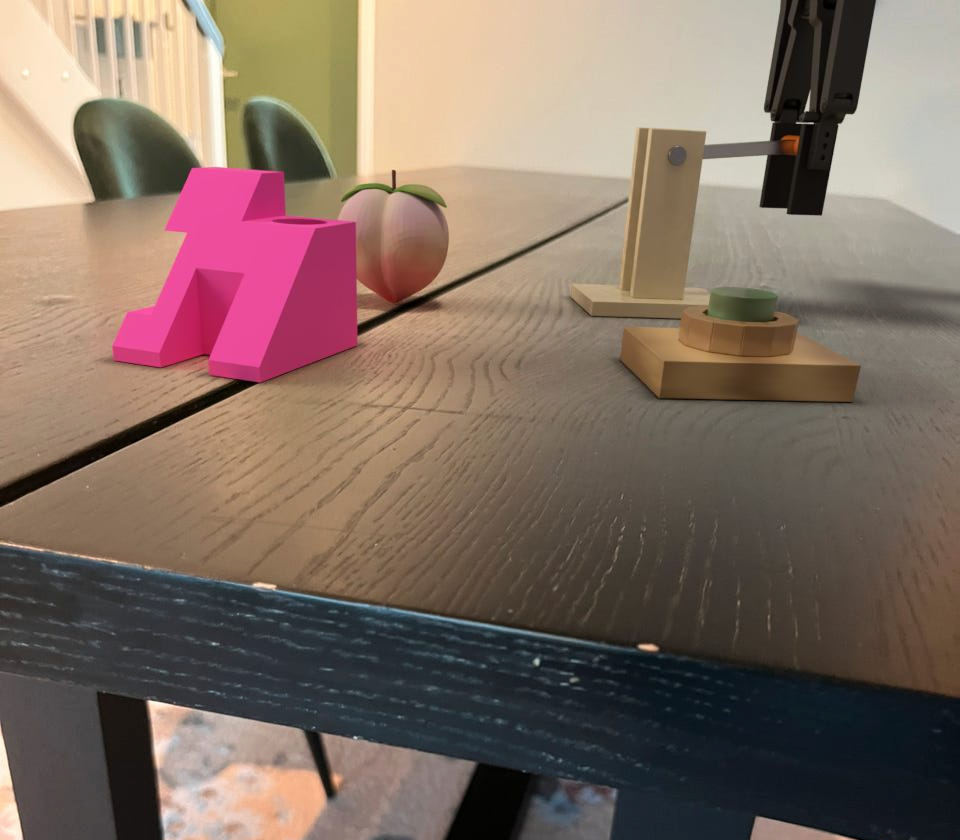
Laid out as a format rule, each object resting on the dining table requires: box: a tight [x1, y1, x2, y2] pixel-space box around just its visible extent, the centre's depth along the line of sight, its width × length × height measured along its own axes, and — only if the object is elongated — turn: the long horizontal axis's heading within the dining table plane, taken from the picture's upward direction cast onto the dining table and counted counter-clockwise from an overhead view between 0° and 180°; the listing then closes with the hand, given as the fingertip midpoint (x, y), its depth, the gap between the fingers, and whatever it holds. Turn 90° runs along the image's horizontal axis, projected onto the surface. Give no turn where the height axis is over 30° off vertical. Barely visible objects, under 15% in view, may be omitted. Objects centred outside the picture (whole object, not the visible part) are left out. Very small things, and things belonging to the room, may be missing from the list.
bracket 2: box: [570, 126, 711, 320], centre depth 81 cm, size 12×9×14 cm
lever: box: [703, 135, 800, 160], centre depth 79 cm, size 13×6×2 cm, turn 96°
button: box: [707, 286, 778, 322], centre depth 60 cm, size 4×4×2 cm
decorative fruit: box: [337, 169, 450, 304], centre depth 79 cm, size 9×8×10 cm
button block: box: [619, 305, 862, 403], centre depth 61 cm, size 12×10×4 cm
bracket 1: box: [111, 166, 359, 383], centre depth 60 cm, size 12×10×10 cm
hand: (789, 210), depth 82 cm, fingers closed on lever, 5 cm apart
